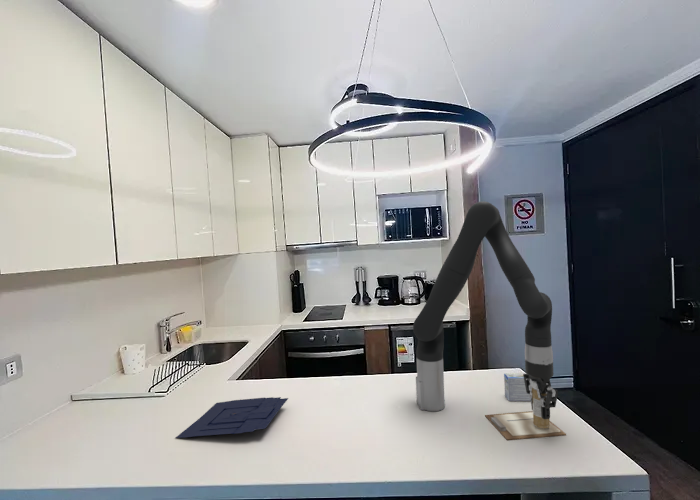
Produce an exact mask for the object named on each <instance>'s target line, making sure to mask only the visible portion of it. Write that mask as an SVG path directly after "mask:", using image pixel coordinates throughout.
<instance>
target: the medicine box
mask: <svg viewBox="0 0 700 500" xmlns="http://www.w3.org/2000/svg"><path fill="white" fill-rule="evenodd" d="M523 374H527V373H526V372H524V373H523V372H520V373H519V372H518V373H517V372H514V373H511V372H510V373H503V380H504V381H503V382H504V385H503V386H504V397H505V398H506V399H507V401H508V402H531V398H530V394H527V392H526V387H525V382H524V377H523ZM529 386H530V385H529Z"/></svg>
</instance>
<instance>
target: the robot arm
mask: <svg viewBox="0 0 700 500" xmlns="http://www.w3.org/2000/svg"><path fill="white" fill-rule="evenodd" d="M484 238H486V239H485V240H487V241H488V243H489V245H490V246H491V248H492V250H493V252H494V254H495V257H496V259H497V261H498V264H499V266H500V268H501V270H502V272H503V274H504V275H505V277H506V279H507V281H508V282H509V284H510V286H511V287H512V289H513V292H514V295H515V298H516V300H517V302H518V305H519V307H520V309H521V310H522V312H523V313H524V315H526V316H527V323H526V325H525V328H524V340H525V341H524V345H525V346H524V368H525V373H526V374H523V377H524V382H525V387H526V392H527V394H530V398H531V401H530V404H531V411H533V395H532V383H531V382H532V381H536V383H535V386H536V388H537V394H538V398H540V401H541V417H542V418H543V419H549V420H550V418H551V408H556V406H557V405H556V404H557V400H558V396H559V391H558V389H555V388H553V387H552V383H551V378H553V376H554V374H555V373H554V351H553V347H552V331H551V326H552V325H551V324H552V315H553V304H552V301H551V298H550V297H549V296H548V295H547V294H546V293H544V292H541V291H540V290H539V288H538V286H537V285H536V278H535V276H534V274H533V272H532V271H531V269H530V267H529V266H528V264H527V262H526V261H525V259H524V258H523V256H522V255H521V254H520V252H519V250H518V249H517V247H516V246H515V244H514V243H513V241H512V239H511V237H510V236H509V234H508V231H507V229H506V227H505V225H504V222H503V219H502V217H501V214H500V210H499V209H498V208H497V207H496V206H495V205H493V204H492V203H491V202H488V201H485V200H484V201H483V200H482V201H477V202H476V203H473V205H471V206H470V207H469V209H468V211H467V213H466V216H465V219H464V221H463V224H462V227H461V229H460V232H459V234H458V237H457V239H456V240H455V242H454V244H453V246H452V247H451V249H450V250H449V253H448V255H447V257H446V258H445V261H444V262H443V264H442V267H441V268H440V270H439V273H438V274H437V277H436V279H435V282H434V283H433V286H432V289H431V291H430V294H429V297H428V299H427V301H426V302H425V304H424V306H423V307H422V309H421V311H420V312H419V314H417V316H416V318H415V320H414V322H413V324H412V325H413V326H412V327H413V328H412V329H413V330H412V331H413V334H414V336H415V338H417V347H416V350H415V351H416V355H415V357H416V376H415V391H416V393H415V396H416V403H417V405H418V407H419V409H420V410H422V411H427V412H439V411H441V410H443V409H445V407H446V404H445V403H446V400H445V377H444V376H445V375H444V348H445V347H444V346H445V345H444V342H445V341H444V339H445V336H444V335H445V333H444V322H443V321H444V319H445V316H446V315H447V312H448V310H449V309H450V307H451V306H452V305H453V303H454V302H455V300H456V299H457V298H458V297H459V294H460V293H461V292H462V290H463V288H464V287H465V285H466V284H467V281H468V280H469V277H470V276H471V273H472V271H473V269H474V265H475V263H476V262H475V261H476V257H477V253H478V250H479V247H480V245H481V243H482V242H483V241H484ZM529 385H530V386H529ZM541 394H547V395H545V396H542V395H541ZM544 399H546V401H545V402H544Z"/></svg>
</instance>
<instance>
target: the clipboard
mask: <svg viewBox="0 0 700 500" xmlns="http://www.w3.org/2000/svg"><path fill="white" fill-rule="evenodd" d="M484 417H485V418H486V419H487V420H488V421H489V422H490V423H491V425H493V427H494V428H495V429H496V430H497V431H498V432H499V433H500V434H501V435H502V436H503V438H504V439H505V440H506V441H513V440H514V441H515V440H528V439H539V438H548V437H549V438H551V437H563V436H567V433H566V432H564V431H563V430H562V429H561V428H559V427H558V426H557V425H556V424H554V423H553V422H552V421H551V420H549V424H550V426H549V427H548V428H540V427H537V426H536V425H534V424H533V410H531V411H519V412H518V411H517V412H508V413H507V412H505V413H493V414H485V415H484Z"/></svg>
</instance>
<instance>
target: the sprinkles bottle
mask: <svg viewBox="0 0 700 500" xmlns="http://www.w3.org/2000/svg"><path fill="white" fill-rule="evenodd" d="M531 383H532V395H533V410H532V411H533V424H534V425H536V426H537V427H540V428H548V427H549V426H550V424H549V421H550V419H543V418H542V417H541V401H540V398H538V394H537V388H536V386H535V383H536V381H532V382H531ZM541 395H542V396H545V395H547V394H541ZM545 401H546V399H544V402H545Z"/></svg>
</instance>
